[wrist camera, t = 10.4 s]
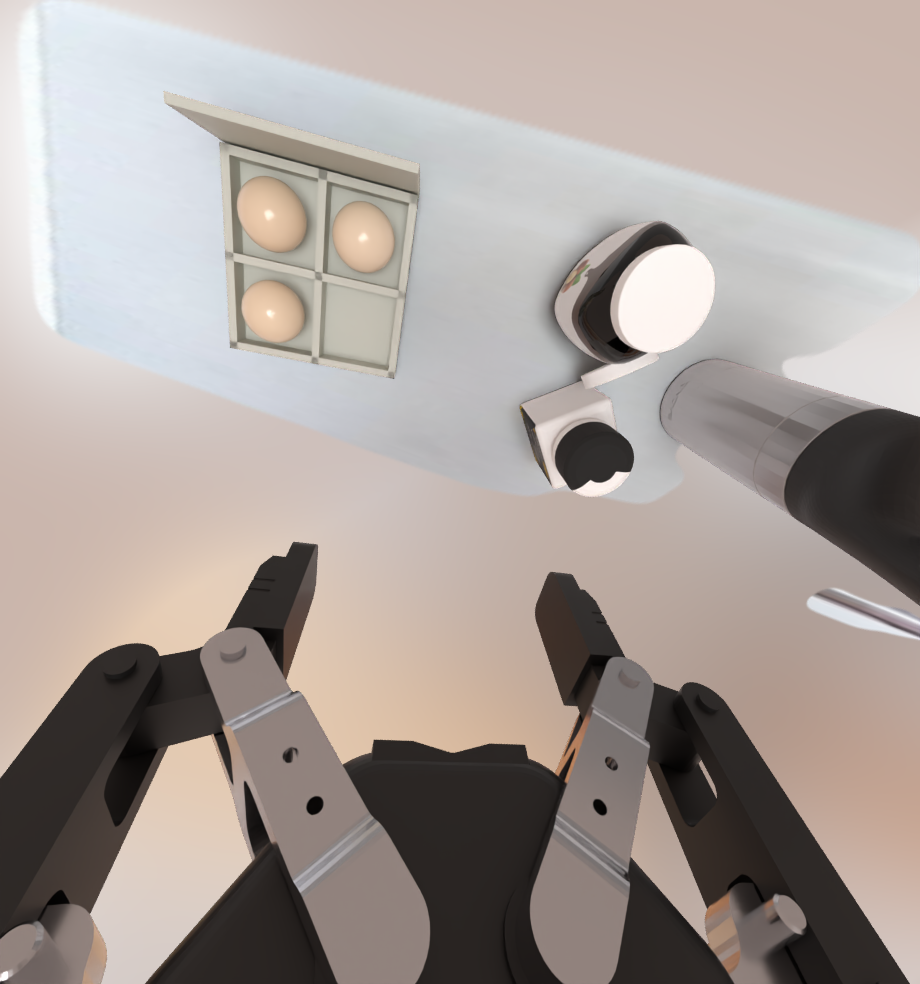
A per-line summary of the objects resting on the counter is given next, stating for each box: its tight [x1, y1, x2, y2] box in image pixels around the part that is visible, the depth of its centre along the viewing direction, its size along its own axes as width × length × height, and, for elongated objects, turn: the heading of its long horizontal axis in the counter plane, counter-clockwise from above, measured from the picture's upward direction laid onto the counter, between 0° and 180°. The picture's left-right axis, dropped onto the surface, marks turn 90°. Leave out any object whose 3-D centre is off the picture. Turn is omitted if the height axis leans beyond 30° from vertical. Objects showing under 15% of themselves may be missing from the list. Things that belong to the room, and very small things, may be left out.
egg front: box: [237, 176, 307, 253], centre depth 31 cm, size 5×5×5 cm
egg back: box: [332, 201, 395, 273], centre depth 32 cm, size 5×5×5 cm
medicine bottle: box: [520, 381, 634, 497], centre depth 38 cm, size 7×7×12 cm
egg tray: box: [163, 91, 420, 379], centre depth 31 cm, size 14×15×10 cm
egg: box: [241, 280, 305, 343], centre depth 34 cm, size 5×5×5 cm
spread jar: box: [555, 221, 715, 389], centre depth 34 cm, size 12×11×12 cm
